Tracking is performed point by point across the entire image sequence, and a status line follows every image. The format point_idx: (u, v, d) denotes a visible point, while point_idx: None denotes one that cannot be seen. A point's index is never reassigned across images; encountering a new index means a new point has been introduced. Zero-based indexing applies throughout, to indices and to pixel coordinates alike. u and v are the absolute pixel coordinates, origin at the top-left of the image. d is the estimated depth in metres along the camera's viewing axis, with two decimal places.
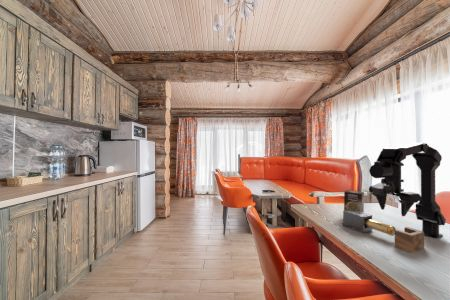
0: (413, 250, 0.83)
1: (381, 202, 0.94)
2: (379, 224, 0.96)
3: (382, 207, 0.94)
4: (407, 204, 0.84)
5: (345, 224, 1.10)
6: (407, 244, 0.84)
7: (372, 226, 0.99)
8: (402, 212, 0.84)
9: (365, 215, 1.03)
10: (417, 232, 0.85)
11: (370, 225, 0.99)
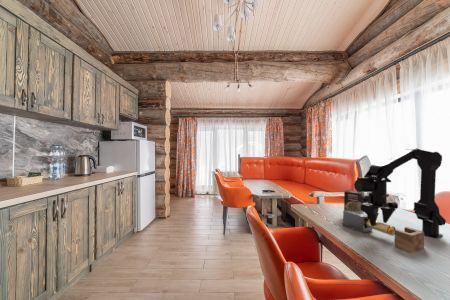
0: (413, 250, 0.83)
1: (383, 215, 1.00)
2: (379, 224, 0.96)
3: (384, 220, 1.00)
4: (372, 215, 0.95)
5: (345, 224, 1.10)
6: (407, 244, 0.84)
7: (372, 226, 0.99)
8: None
9: (365, 215, 1.03)
10: (417, 232, 0.85)
11: (370, 225, 0.99)
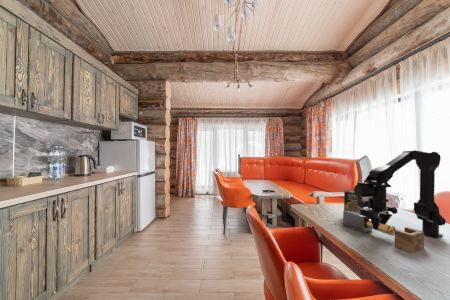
0: (413, 250, 0.83)
1: None
2: (379, 224, 0.96)
3: None
4: (375, 219, 0.96)
5: (345, 224, 1.10)
6: (407, 244, 0.84)
7: (372, 226, 0.99)
8: None
9: None
10: (417, 232, 0.85)
11: (370, 225, 0.99)
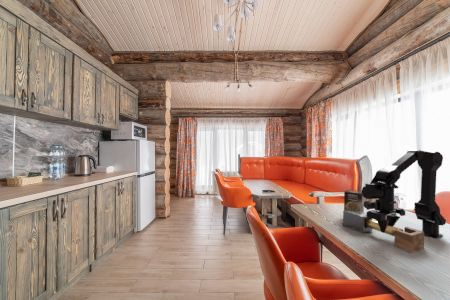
0: (413, 250, 0.83)
1: (387, 223, 0.96)
2: None
3: None
4: (382, 222, 0.93)
5: (345, 224, 1.10)
6: (407, 244, 0.84)
7: (379, 228, 0.96)
8: None
9: (365, 215, 1.03)
10: (417, 232, 0.85)
11: (377, 227, 0.97)
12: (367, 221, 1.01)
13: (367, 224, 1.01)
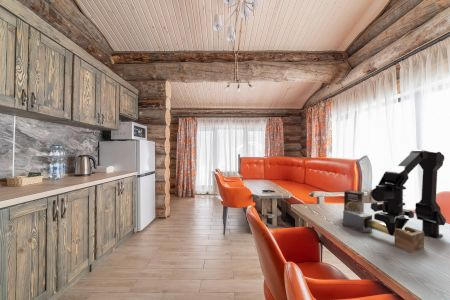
0: (413, 250, 0.83)
1: None
2: (395, 229, 0.91)
3: None
4: (390, 224, 0.90)
5: (345, 224, 1.10)
6: (407, 244, 0.84)
7: (387, 231, 0.93)
8: None
9: (365, 215, 1.03)
10: (417, 232, 0.85)
11: (385, 230, 0.94)
12: (374, 223, 0.98)
13: (374, 226, 0.98)
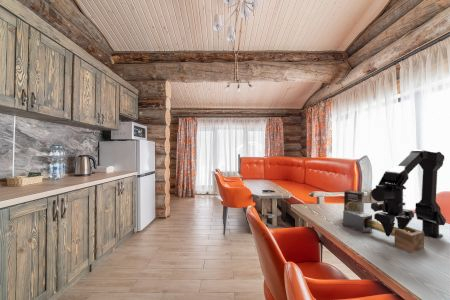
0: (413, 250, 0.83)
1: (398, 225, 0.94)
2: (395, 229, 0.91)
3: None
4: (387, 225, 0.89)
5: (345, 224, 1.10)
6: (407, 244, 0.84)
7: None
8: None
9: (365, 215, 1.03)
10: (417, 232, 0.85)
11: None
12: (374, 223, 0.98)
13: (374, 226, 0.98)
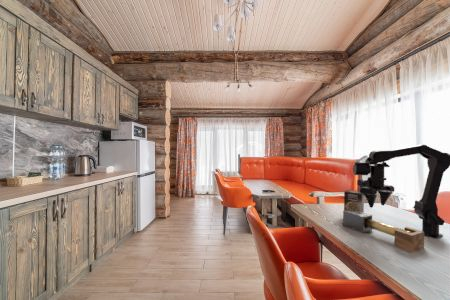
0: (413, 250, 0.83)
1: (381, 198, 1.07)
2: (395, 229, 0.91)
3: (381, 203, 1.07)
4: (370, 197, 1.02)
5: (345, 224, 1.10)
6: (407, 244, 0.84)
7: (387, 231, 0.93)
8: None
9: (365, 215, 1.03)
10: (417, 232, 0.85)
11: (385, 230, 0.94)
12: (374, 223, 0.98)
13: (374, 226, 0.98)
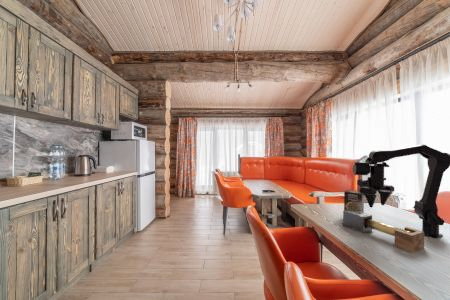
0: (413, 250, 0.83)
1: (381, 198, 1.07)
2: (395, 229, 0.91)
3: (381, 203, 1.07)
4: (370, 197, 1.02)
5: (345, 224, 1.10)
6: (407, 244, 0.84)
7: (387, 231, 0.93)
8: None
9: (365, 215, 1.03)
10: (417, 232, 0.85)
11: (385, 230, 0.94)
12: (374, 223, 0.98)
13: (374, 226, 0.98)
